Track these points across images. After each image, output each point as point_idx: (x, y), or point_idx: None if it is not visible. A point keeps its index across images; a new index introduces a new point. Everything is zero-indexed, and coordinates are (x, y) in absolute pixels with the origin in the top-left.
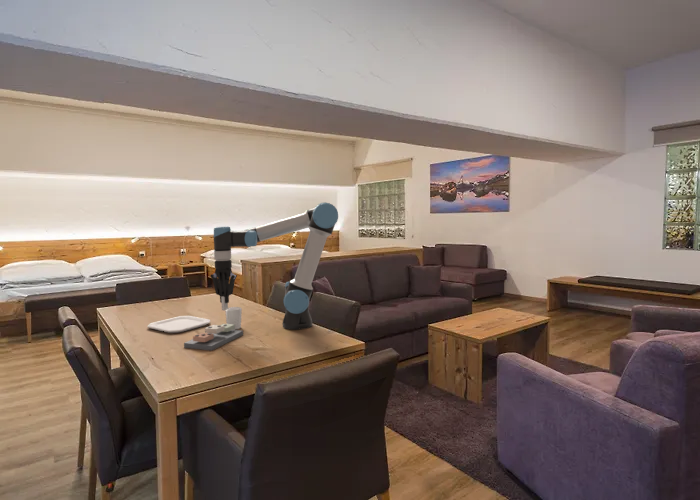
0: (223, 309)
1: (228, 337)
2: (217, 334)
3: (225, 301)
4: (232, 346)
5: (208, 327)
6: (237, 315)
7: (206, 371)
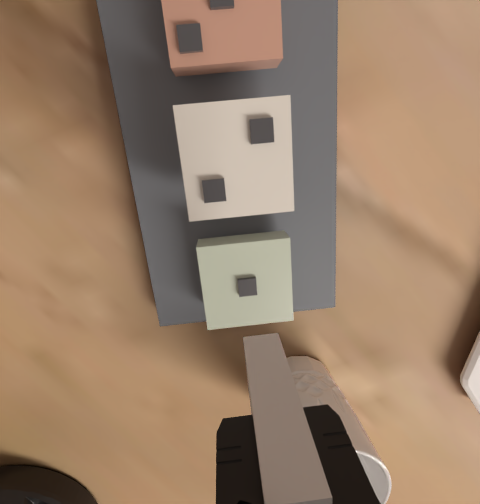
0: (256, 340)
1: (134, 177)
2: None
3: (247, 435)
4: (48, 106)
5: (268, 117)
6: None
7: None
